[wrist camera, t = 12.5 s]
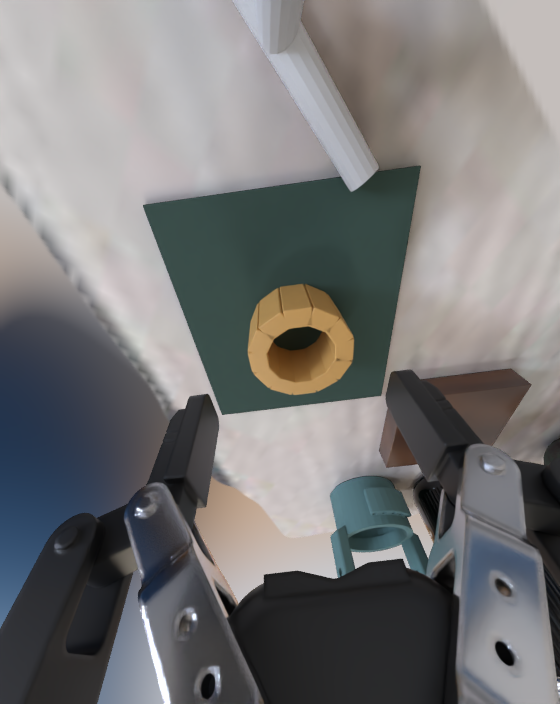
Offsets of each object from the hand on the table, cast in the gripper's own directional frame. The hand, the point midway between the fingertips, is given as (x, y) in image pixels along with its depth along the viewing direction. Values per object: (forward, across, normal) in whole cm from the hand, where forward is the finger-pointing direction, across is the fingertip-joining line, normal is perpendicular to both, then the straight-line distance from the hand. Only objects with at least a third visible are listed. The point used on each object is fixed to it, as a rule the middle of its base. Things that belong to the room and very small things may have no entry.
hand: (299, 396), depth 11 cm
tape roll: (+7, -1, 0) cm, 7 cm away
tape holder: (+7, -14, +12) cm, 20 cm away
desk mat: (+7, 0, 0) cm, 7 cm away
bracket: (+7, -8, +26) cm, 28 cm away
